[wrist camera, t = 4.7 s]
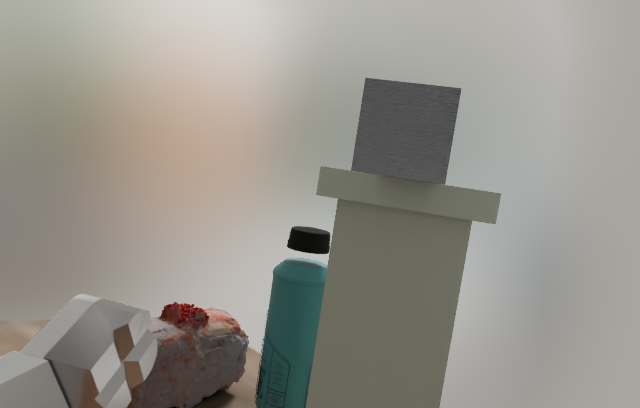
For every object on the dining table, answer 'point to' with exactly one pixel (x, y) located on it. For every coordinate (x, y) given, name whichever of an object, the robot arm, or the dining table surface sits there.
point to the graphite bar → (406, 130)
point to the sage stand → (391, 289)
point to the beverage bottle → (293, 323)
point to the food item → (191, 357)
